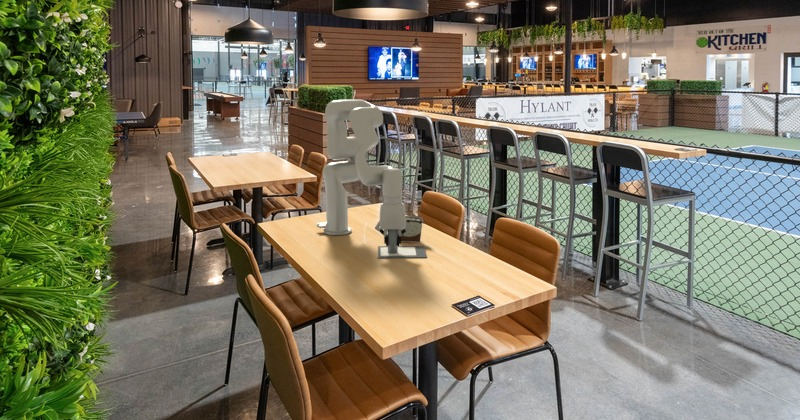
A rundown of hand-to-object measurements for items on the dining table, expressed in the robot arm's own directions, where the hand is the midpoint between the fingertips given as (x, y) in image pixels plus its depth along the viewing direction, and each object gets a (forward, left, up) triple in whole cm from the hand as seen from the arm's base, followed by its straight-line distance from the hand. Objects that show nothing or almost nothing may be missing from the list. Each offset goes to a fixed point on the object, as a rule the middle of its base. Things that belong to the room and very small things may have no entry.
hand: (392, 244), depth 230 cm
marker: (0, 0, -3) cm, 3 cm away
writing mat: (+4, +1, -4) cm, 5 cm away
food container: (+8, +19, -4) cm, 21 cm away
